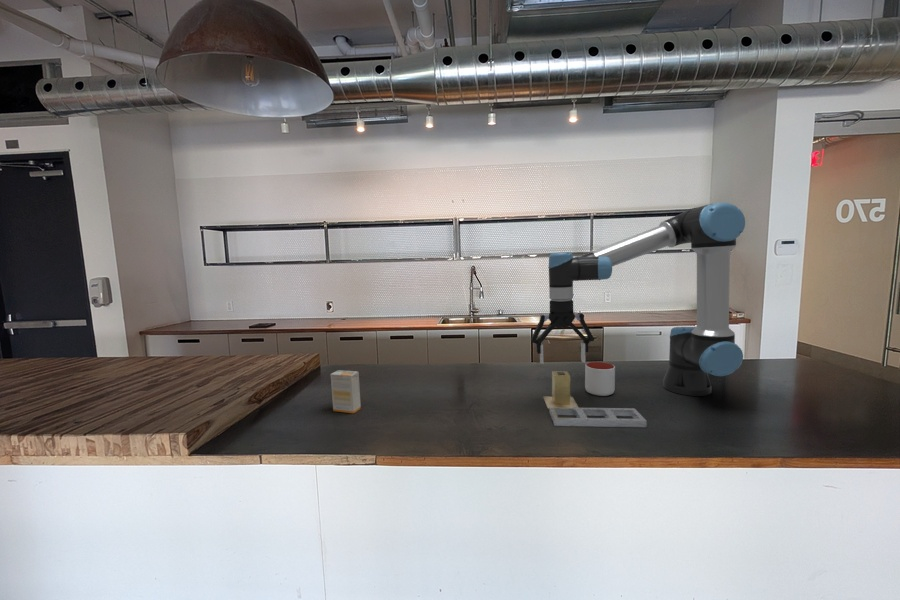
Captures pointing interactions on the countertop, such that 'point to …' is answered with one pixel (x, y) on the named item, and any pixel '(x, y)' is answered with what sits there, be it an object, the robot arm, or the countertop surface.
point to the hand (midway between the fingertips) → (562, 362)
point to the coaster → (550, 403)
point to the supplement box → (345, 391)
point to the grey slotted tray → (608, 421)
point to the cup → (600, 378)
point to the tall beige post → (561, 387)
